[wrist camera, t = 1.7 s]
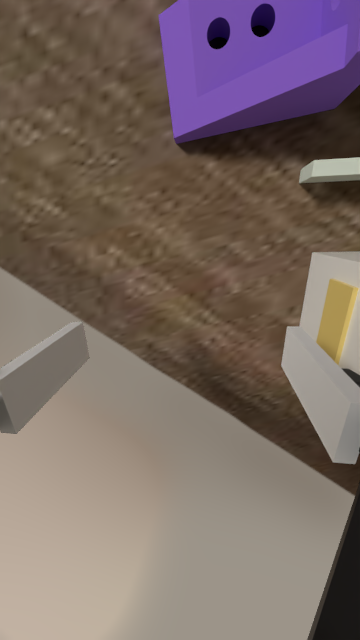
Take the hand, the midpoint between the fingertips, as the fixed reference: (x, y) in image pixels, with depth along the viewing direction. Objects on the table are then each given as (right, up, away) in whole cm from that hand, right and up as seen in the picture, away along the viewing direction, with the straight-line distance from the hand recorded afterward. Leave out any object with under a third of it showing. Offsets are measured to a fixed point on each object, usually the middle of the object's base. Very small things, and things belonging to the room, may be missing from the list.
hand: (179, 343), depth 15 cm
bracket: (+5, +20, +2) cm, 21 cm away
